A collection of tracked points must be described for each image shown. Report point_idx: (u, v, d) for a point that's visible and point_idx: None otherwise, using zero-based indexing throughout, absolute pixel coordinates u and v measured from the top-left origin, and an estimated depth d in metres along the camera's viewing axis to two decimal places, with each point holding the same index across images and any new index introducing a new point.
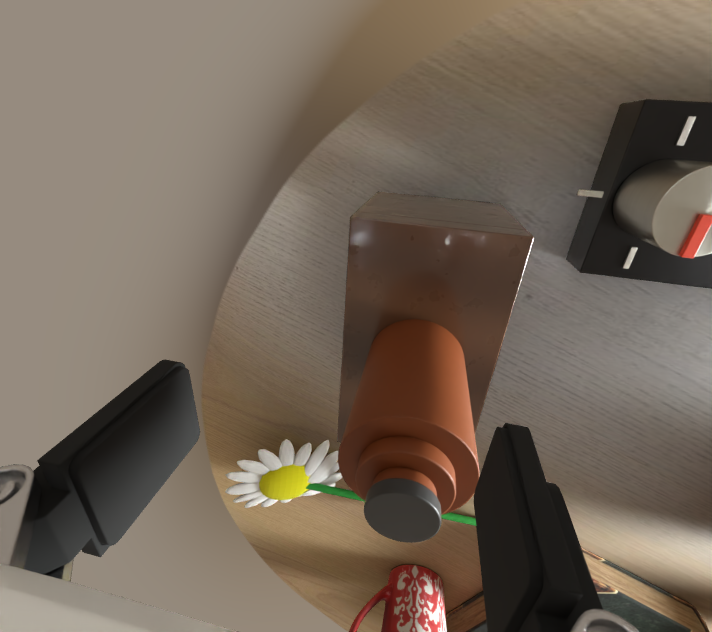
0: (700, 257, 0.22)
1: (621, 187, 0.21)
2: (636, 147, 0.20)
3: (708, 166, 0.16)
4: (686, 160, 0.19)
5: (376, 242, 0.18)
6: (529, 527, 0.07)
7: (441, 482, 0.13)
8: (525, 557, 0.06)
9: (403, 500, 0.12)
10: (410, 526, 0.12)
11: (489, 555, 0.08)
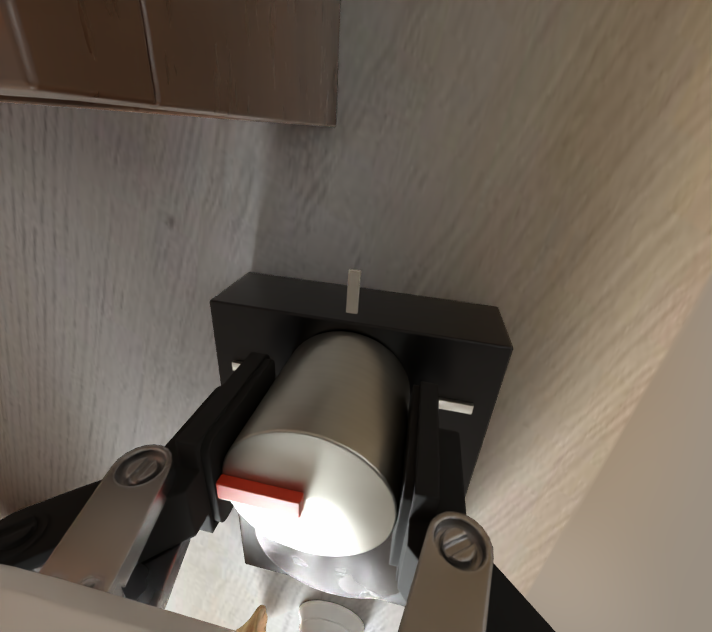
0: None
1: (364, 339, 0.11)
2: (433, 348, 0.11)
3: (394, 495, 0.08)
4: (406, 426, 0.11)
5: None
6: (413, 455, 0.08)
7: None
8: (405, 476, 0.08)
9: None
10: None
11: None
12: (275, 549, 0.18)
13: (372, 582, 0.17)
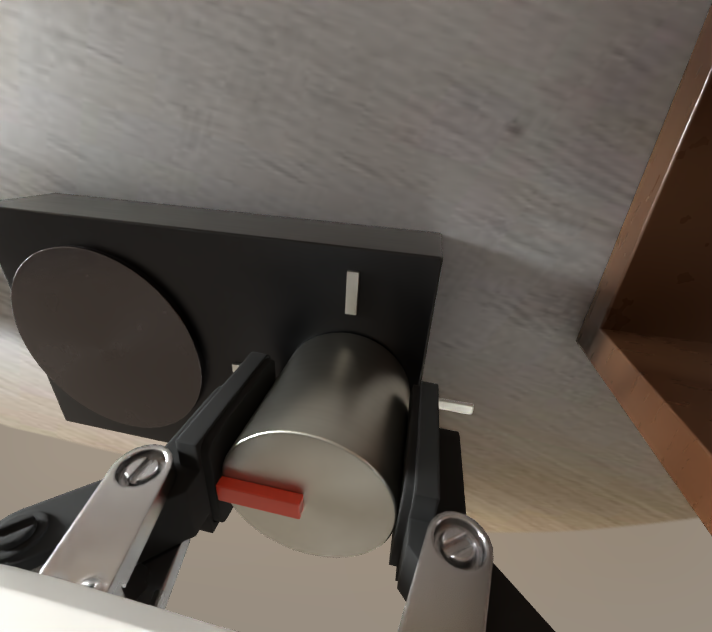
0: (236, 290, 0.12)
1: (364, 340, 0.11)
2: None
3: (393, 496, 0.08)
4: (406, 426, 0.11)
5: None
6: (413, 455, 0.08)
7: None
8: (405, 476, 0.08)
9: None
10: None
11: None
12: (51, 271, 0.12)
13: (79, 381, 0.15)
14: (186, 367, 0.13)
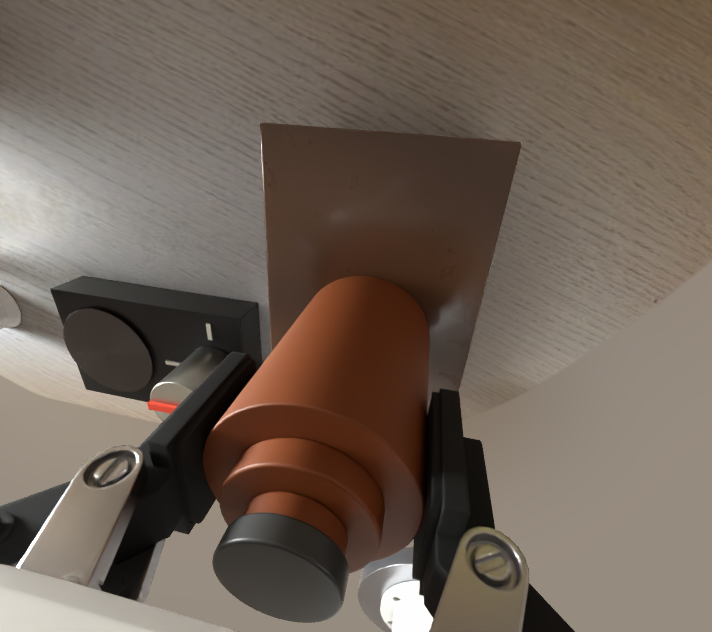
0: (164, 328, 0.27)
1: (216, 350, 0.27)
2: None
3: None
4: None
5: None
6: (439, 466, 0.08)
7: None
8: (431, 489, 0.07)
9: (279, 611, 0.07)
10: (257, 572, 0.07)
11: None
12: (83, 318, 0.28)
13: (94, 368, 0.30)
14: (144, 361, 0.29)
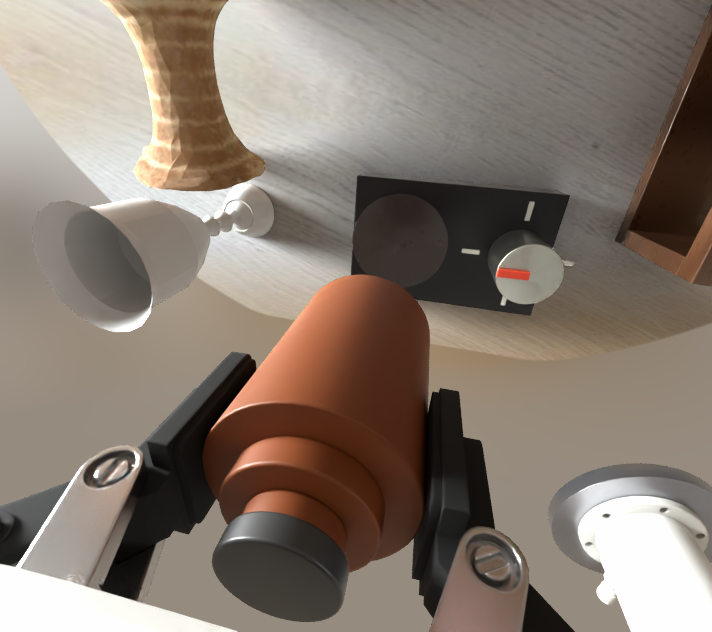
0: (475, 212, 0.28)
1: None
2: None
3: (563, 267, 0.24)
4: None
5: None
6: (439, 466, 0.08)
7: None
8: (431, 489, 0.07)
9: (279, 610, 0.07)
10: (256, 571, 0.07)
11: None
12: (387, 205, 0.28)
13: (374, 263, 0.31)
14: (439, 250, 0.29)
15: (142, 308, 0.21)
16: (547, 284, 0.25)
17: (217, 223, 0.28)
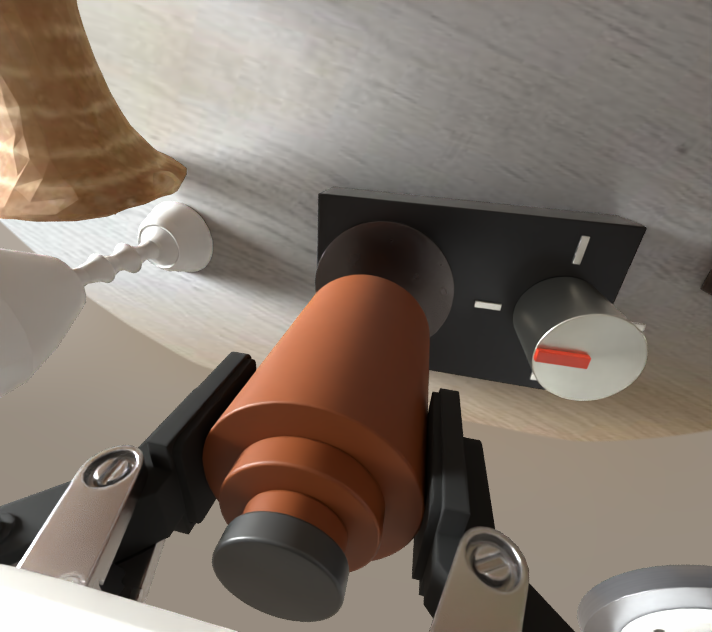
0: (496, 249, 0.18)
1: (581, 280, 0.18)
2: None
3: (647, 351, 0.14)
4: None
5: None
6: (439, 466, 0.08)
7: None
8: (431, 489, 0.07)
9: (279, 610, 0.07)
10: (256, 571, 0.07)
11: None
12: (364, 237, 0.19)
13: None
14: (441, 303, 0.20)
15: None
16: (617, 374, 0.15)
17: (108, 265, 0.19)
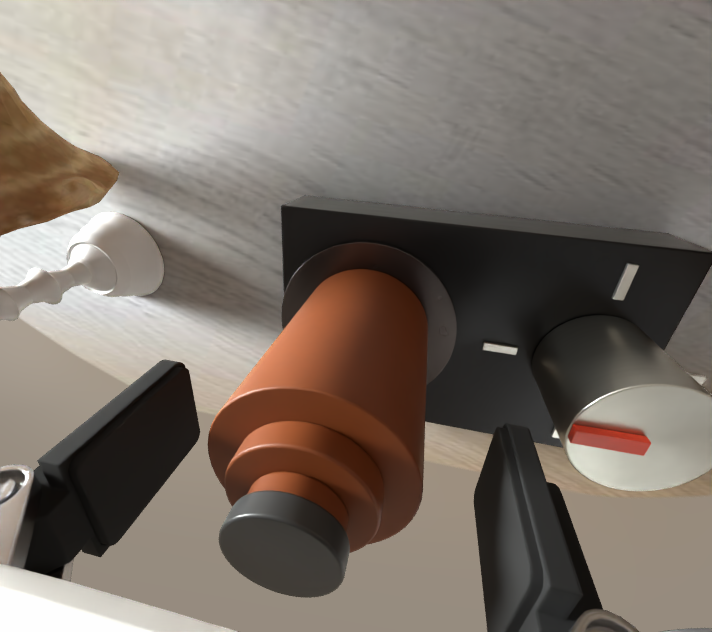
0: (511, 279, 0.14)
1: (625, 321, 0.14)
2: None
3: None
4: None
5: None
6: (529, 527, 0.07)
7: None
8: (525, 557, 0.06)
9: (283, 586, 0.08)
10: (261, 547, 0.07)
11: (489, 555, 0.08)
12: (341, 262, 0.15)
13: None
14: (440, 345, 0.16)
15: None
16: (685, 462, 0.11)
17: (8, 299, 0.15)
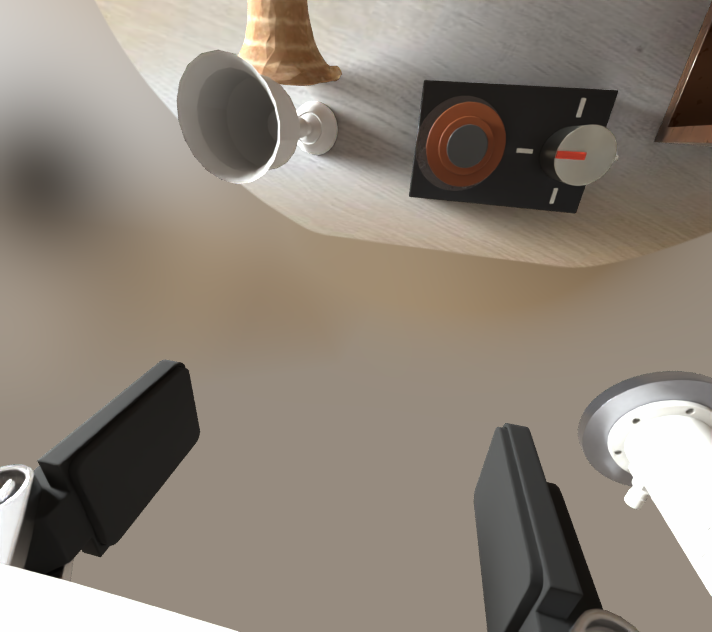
0: (531, 111, 0.31)
1: None
2: (579, 187, 0.33)
3: (616, 146, 0.27)
4: None
5: None
6: (529, 527, 0.07)
7: (445, 157, 0.26)
8: (525, 557, 0.06)
9: (465, 162, 0.25)
10: (462, 141, 0.24)
11: (489, 555, 0.08)
12: None
13: None
14: None
15: None
16: (601, 164, 0.28)
17: None
